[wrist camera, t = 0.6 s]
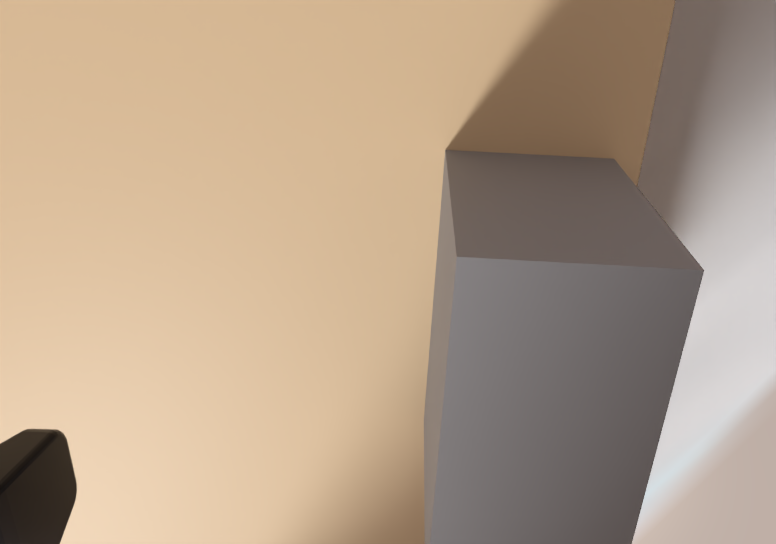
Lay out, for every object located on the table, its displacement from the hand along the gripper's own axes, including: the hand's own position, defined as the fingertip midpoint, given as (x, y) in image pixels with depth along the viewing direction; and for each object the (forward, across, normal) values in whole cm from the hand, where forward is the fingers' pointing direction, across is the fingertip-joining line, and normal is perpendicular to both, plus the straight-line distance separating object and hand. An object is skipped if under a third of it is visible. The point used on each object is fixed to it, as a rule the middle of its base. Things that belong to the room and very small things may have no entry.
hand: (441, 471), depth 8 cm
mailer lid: (+7, +5, +1) cm, 9 cm away
